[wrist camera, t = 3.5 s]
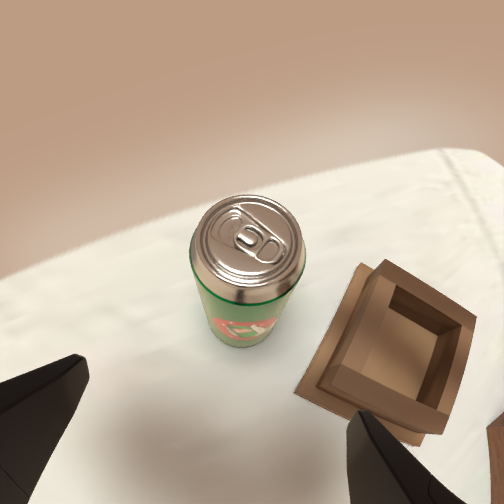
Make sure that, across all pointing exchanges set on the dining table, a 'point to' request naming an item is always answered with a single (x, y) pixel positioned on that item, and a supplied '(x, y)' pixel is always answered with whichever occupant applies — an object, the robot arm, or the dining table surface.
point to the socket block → (392, 353)
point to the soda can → (246, 266)
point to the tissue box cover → (496, 459)
